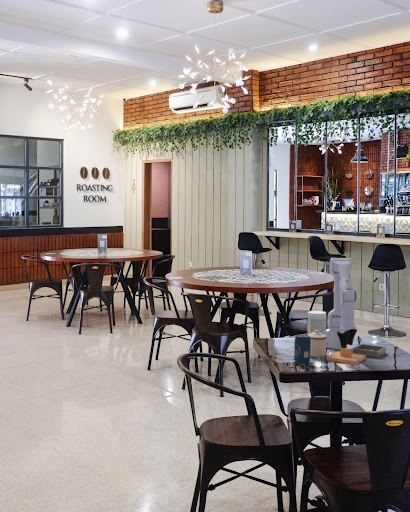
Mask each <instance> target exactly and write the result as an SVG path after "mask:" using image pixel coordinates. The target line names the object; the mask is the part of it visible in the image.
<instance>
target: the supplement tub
mask: <svg viewBox="0 0 410 512" xmlns="http://www.w3.org/2000/svg"><path fill="white" fill-rule="evenodd" d="M306 320H307V325H306V326H307V334H306V335H308V334H311V333H313V332H315V330H319V332H320V333H322V334H324V335H325V332H326V330H327V312H326V311H324V310H322V311H321V310H310V311H307V319H306Z"/></svg>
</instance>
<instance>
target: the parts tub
mask: <svg viewBox="0 0 410 512" xmlns="http://www.w3.org/2000/svg"><path fill="white" fill-rule="evenodd" d="M352 353H353V354H361V355H366V357H367V358H372V359H373V358H374V359H379V358H381V357H382V356H384V355H385V354H387V346H381V345H372V344H365V343H360V344H358V345H356V346H354V347H352ZM366 357H365V358H366Z"/></svg>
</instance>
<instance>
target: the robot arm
mask: <svg viewBox="0 0 410 512" xmlns="http://www.w3.org/2000/svg"><path fill="white" fill-rule="evenodd" d="M352 268H353V260H352V258H351V257H339V258H338V257H331V258H330V259H329V274H330V275H332V276H333V279H334V280H333V281H334V282H333V283H334V284H333V309H332V310H330V311H329V312H328V314H327V319H326V326H327V328H326V332H325V335H326V337H327V338H326V348H327V349H333V350H338V351H340V348H349V346H352V345H354V344H353V343H354V339H355V336H356V334H357V332H358V329H357V326H356V323H355V308H356V307H355V303H356V302H357V295H358V294H357V291H356V289H355V287H354V286H353V280H352V279H351V278H350V276H349V275H350V273H351V271H352Z"/></svg>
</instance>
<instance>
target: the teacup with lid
mask: <svg viewBox="0 0 410 512" xmlns="http://www.w3.org/2000/svg"><path fill="white" fill-rule="evenodd" d="M308 335H309V337H310V340H311V348H310V357H311V358H312V357H314V358H322V357H326V356H327V355H326V353H327V349H326V338H327V337H326V335H324V334H322V333H320V332H319V330H315V332H313V333H311V334H308Z"/></svg>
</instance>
